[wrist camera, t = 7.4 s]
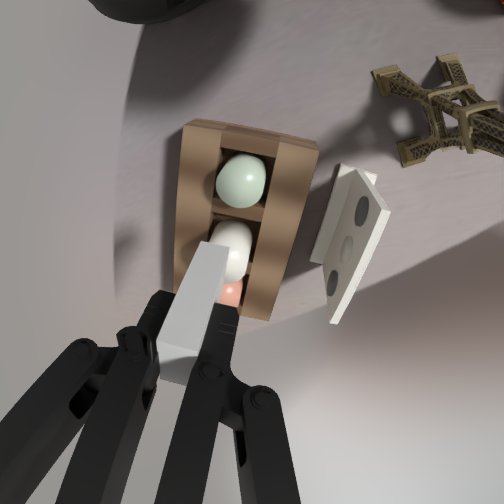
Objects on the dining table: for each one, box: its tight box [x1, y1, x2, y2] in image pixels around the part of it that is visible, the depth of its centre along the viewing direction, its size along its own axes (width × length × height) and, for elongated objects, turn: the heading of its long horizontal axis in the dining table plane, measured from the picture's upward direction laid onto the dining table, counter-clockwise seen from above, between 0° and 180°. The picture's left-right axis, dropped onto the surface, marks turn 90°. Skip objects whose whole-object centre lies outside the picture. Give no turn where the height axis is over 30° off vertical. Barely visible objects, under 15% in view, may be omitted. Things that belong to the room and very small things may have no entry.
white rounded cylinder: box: [209, 219, 253, 284], centre depth 28 cm, size 4×4×5 cm
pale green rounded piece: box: [216, 150, 267, 208], centre depth 27 cm, size 4×4×5 cm
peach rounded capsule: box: [219, 275, 245, 307], centre depth 34 cm, size 4×4×5 cm
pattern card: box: [309, 163, 391, 324], centre depth 27 cm, size 12×4×10 cm, turn 170°
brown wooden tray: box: [173, 118, 320, 321], centre depth 31 cm, size 21×12×4 cm, turn 170°
